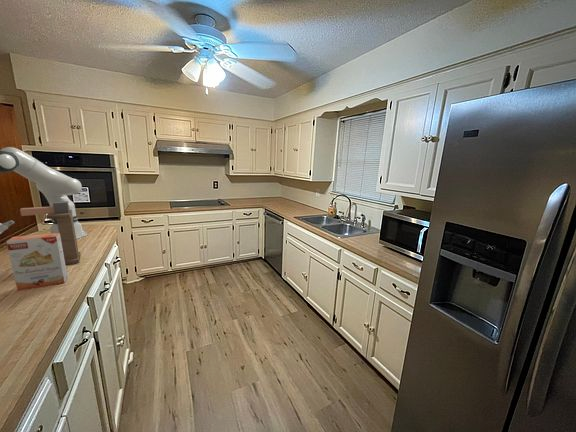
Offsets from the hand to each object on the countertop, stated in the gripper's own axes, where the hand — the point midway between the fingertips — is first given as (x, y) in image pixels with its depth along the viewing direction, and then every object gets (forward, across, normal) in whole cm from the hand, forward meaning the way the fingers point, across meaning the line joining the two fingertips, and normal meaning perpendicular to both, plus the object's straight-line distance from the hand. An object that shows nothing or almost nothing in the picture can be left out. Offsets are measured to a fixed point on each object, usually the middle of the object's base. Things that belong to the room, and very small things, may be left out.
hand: (9, 224), depth 108 cm
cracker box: (-1, -25, +24) cm, 35 cm away
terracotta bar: (+13, 0, +4) cm, 14 cm away
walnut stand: (+4, 0, +27) cm, 27 cm away
